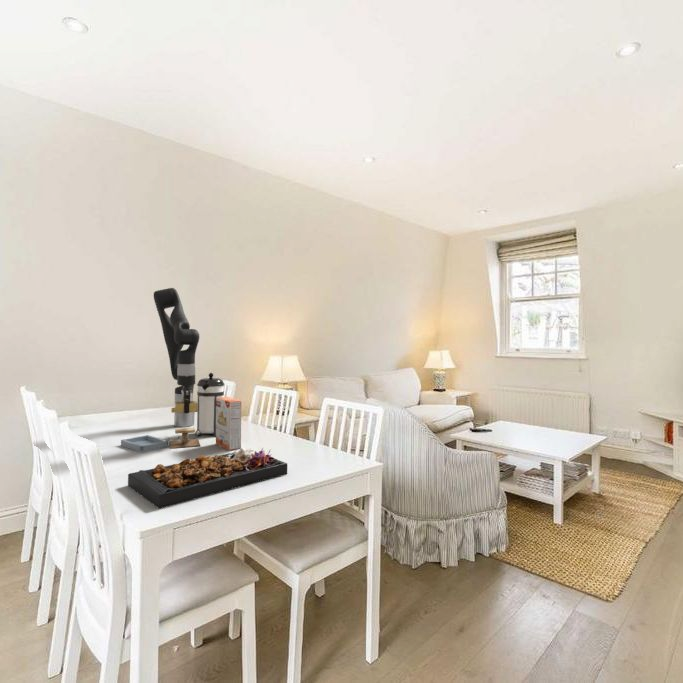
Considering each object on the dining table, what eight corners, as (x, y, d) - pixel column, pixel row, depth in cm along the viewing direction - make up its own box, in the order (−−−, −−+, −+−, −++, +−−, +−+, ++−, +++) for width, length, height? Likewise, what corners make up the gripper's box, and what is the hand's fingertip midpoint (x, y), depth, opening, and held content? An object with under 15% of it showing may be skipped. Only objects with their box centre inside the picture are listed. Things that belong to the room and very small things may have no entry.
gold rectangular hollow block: (196, 409, 193) (196, 400, 193) (197, 412, 188) (197, 402, 188) (171, 410, 189) (171, 402, 189) (171, 413, 183) (171, 404, 183)
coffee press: (232, 435, 207) (233, 373, 207) (199, 439, 198) (200, 374, 198) (220, 428, 222) (221, 370, 221) (189, 431, 213) (190, 371, 212)
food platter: (248, 460, 168) (249, 434, 168) (287, 475, 151) (287, 446, 151) (127, 487, 136) (128, 455, 136) (158, 510, 119) (159, 474, 119)
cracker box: (214, 444, 190) (215, 397, 190) (227, 442, 194) (228, 396, 193) (228, 450, 179) (228, 401, 179) (241, 448, 183) (242, 400, 183)
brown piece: (197, 439, 196) (198, 425, 196) (200, 446, 185) (200, 431, 185) (169, 442, 192) (170, 427, 192) (170, 448, 181) (170, 433, 181)
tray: (120, 445, 184) (120, 439, 184) (147, 440, 194) (147, 435, 194) (141, 452, 174) (141, 446, 174) (168, 446, 184) (168, 441, 184)
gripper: (176, 372, 193) (176, 409, 194) (178, 375, 180) (177, 415, 180) (194, 372, 196) (193, 408, 197) (196, 375, 183) (196, 414, 183)
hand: (186, 411), depth 189 cm, fingers closed on gold rectangular hollow block, 6 cm apart
